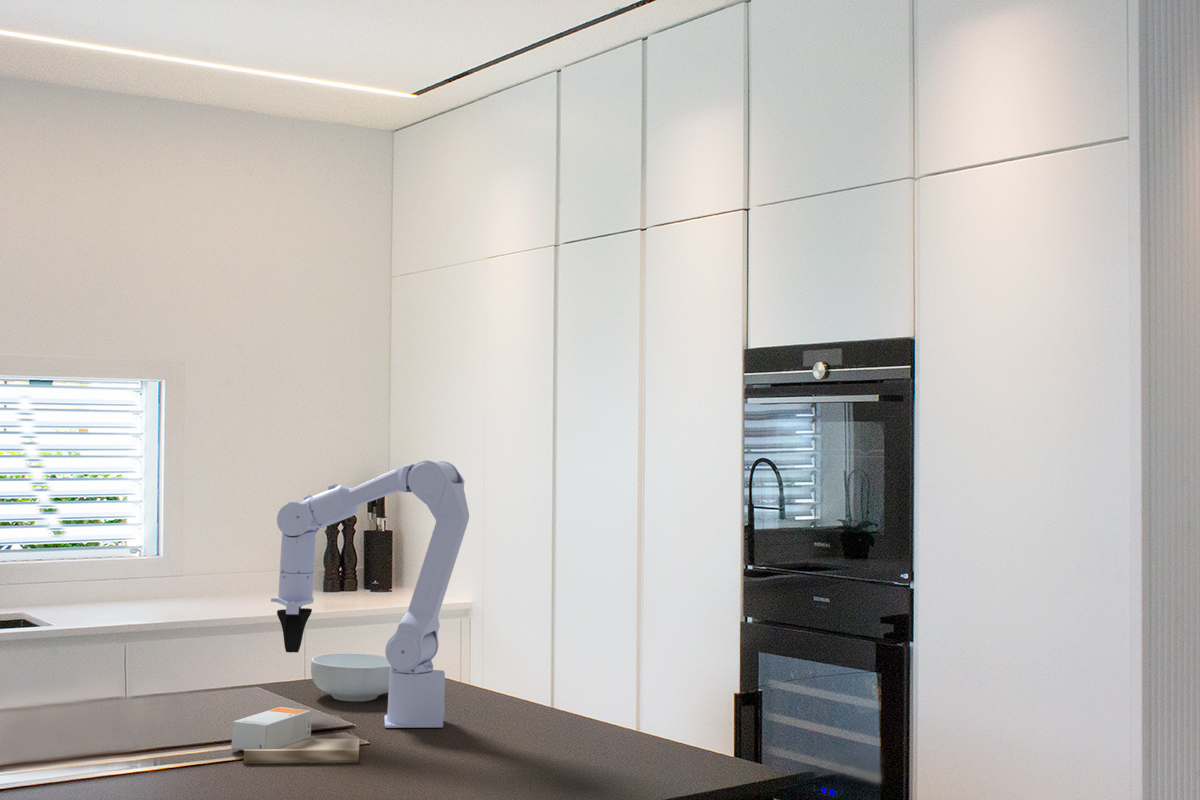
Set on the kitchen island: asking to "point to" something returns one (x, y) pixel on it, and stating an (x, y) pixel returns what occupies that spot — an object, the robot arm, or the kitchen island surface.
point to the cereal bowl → (351, 675)
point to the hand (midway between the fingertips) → (292, 651)
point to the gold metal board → (307, 752)
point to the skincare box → (271, 729)
